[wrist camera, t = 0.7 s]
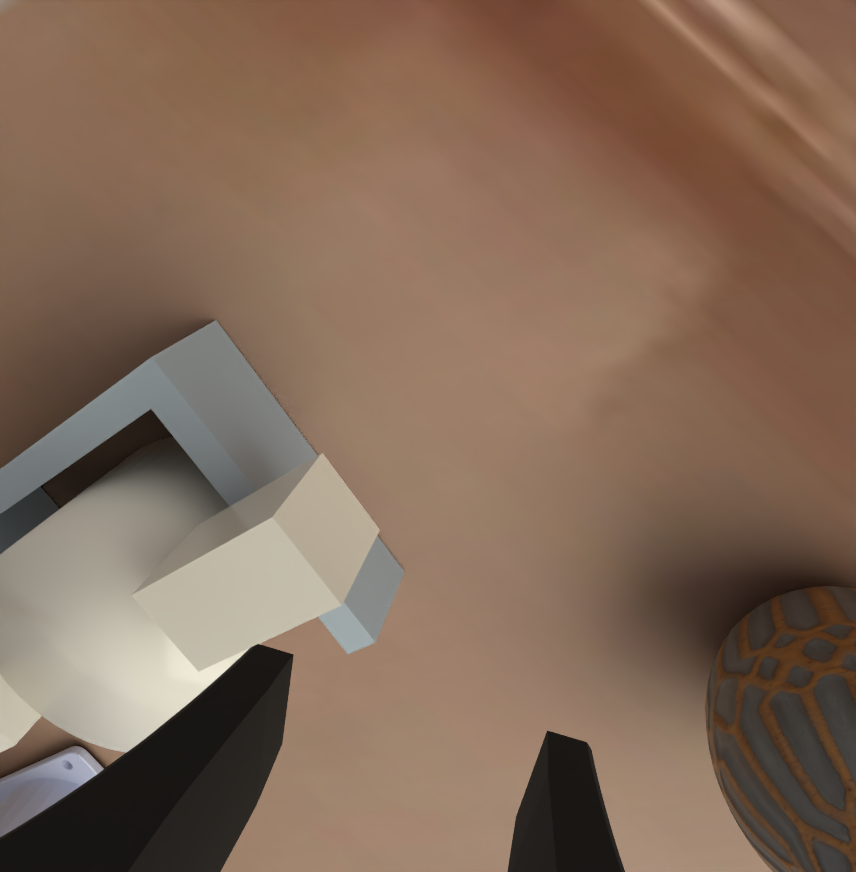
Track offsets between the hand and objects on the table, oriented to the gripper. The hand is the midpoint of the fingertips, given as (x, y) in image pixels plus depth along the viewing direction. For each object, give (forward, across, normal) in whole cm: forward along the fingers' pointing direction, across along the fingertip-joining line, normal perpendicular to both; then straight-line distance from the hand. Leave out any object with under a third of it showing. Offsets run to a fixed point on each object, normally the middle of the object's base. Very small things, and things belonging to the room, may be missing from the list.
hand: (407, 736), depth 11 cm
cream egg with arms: (+10, +9, +6) cm, 15 cm away
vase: (+11, -10, +4) cm, 15 cm away
